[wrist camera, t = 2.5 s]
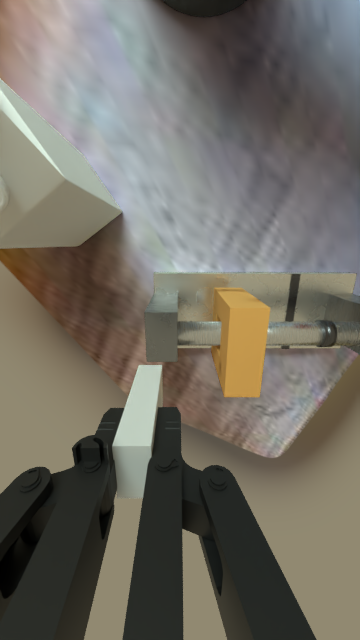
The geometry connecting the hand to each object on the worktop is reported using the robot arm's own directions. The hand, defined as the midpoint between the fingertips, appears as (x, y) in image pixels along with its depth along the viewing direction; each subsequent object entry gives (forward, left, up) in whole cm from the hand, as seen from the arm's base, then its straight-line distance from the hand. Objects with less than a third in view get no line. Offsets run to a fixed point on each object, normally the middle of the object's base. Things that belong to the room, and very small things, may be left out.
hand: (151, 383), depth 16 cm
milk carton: (-13, -10, -18) cm, 24 cm away
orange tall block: (0, +7, -12) cm, 14 cm away
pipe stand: (0, +11, -18) cm, 21 cm away
